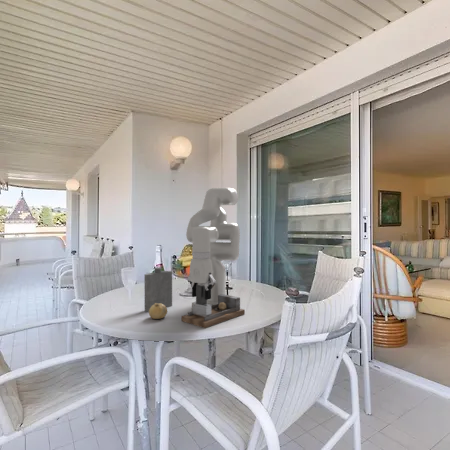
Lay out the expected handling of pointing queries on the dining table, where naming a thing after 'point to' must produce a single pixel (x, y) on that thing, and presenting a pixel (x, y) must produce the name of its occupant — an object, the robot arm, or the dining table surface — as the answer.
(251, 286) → the dining table surface
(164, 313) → the onion
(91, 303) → the dining table surface
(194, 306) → the jaw
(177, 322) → the dining table surface
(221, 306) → the beige round ball
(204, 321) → the cracker base
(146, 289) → the hip flask
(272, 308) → the dining table surface
